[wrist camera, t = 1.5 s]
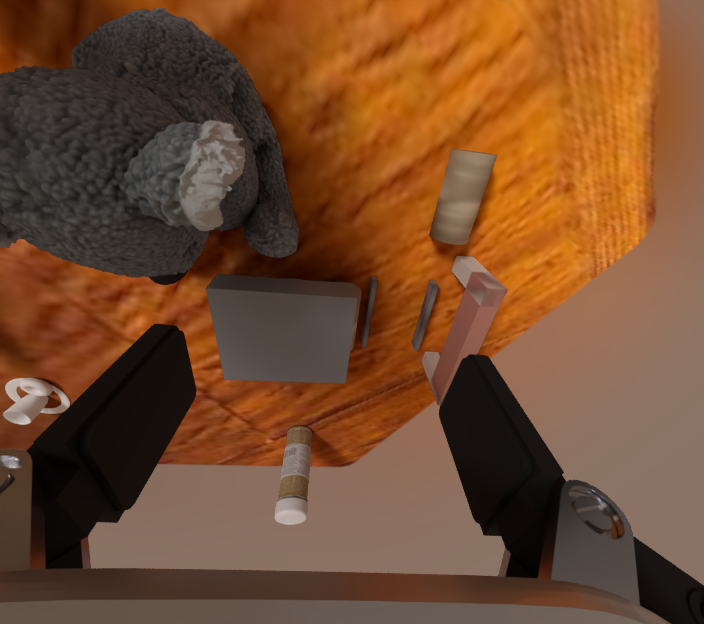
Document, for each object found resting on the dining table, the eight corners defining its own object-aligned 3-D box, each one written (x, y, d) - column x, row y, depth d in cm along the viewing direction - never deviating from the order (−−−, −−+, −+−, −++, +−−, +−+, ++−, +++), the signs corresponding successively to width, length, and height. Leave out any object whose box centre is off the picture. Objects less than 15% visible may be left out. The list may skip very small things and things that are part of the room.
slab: (217, 273, 28) (206, 288, 26) (355, 283, 30) (357, 298, 27) (232, 361, 35) (224, 379, 32) (344, 365, 36) (345, 383, 34)
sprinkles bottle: (292, 441, 52) (280, 528, 41) (283, 427, 49) (268, 515, 38) (316, 437, 52) (310, 523, 40) (308, 422, 49) (301, 510, 38)
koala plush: (146, 248, 31) (-66, 385, 14) (52, 15, 21) (-971, -386, 4) (305, 248, 32) (275, 377, 15) (289, 26, 22) (153, -274, 5)
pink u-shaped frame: (456, 255, 33) (487, 288, 26) (472, 256, 33) (507, 289, 26) (421, 361, 42) (437, 405, 36) (434, 361, 42) (452, 405, 36)
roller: (443, 147, 26) (470, 152, 23) (476, 151, 28) (507, 156, 25) (422, 231, 31) (443, 245, 28) (452, 231, 32) (475, 244, 29)
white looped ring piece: (34, 366, 39) (6, 388, 36) (87, 398, 44) (66, 421, 40) (-4, 388, 41) (-34, 411, 38) (51, 416, 45) (28, 440, 42)
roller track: (221, 264, 32) (207, 281, 29) (434, 280, 35) (445, 298, 31) (232, 333, 38) (222, 355, 34) (416, 342, 40) (423, 363, 37)
